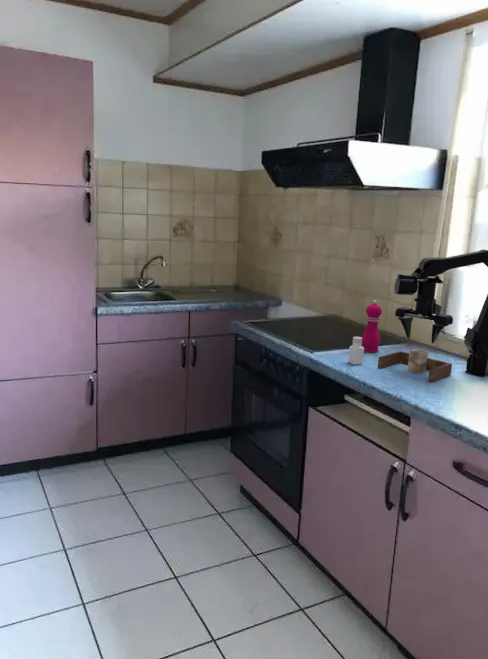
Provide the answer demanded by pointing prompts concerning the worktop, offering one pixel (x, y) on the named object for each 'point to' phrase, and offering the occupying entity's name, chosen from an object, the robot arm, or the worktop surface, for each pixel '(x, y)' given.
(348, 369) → the worktop surface
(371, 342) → the pepper mill
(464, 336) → the robot arm
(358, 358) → the salt shaker
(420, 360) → the maple block
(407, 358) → the wooden u-shaped frame
